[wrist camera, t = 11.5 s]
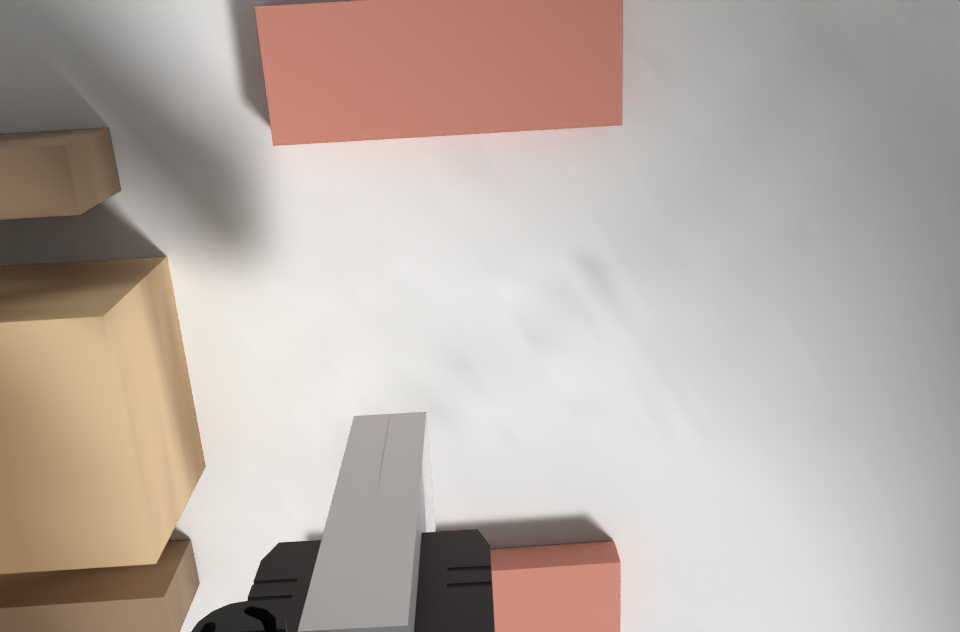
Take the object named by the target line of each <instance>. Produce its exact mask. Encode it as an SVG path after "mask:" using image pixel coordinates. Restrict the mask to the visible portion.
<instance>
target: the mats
mask: <svg viewBox="0 0 960 632" xmlns="http://www.w3.org/2000/svg"><path fill="white" fill-rule="evenodd" d="M255 14H256V21H257V29H258V36H259V43H260V51H261V58H262V66H263V73H264V80H265V88H266V95H267V103H268V110H269V117H270V125H271V132H272V140H273V146H278V145H294V144H311V143H328V142H345V141H362V140H379V139H396V138H412V137H429V136H446V135H463V134H480V133H497V132H513V131H530V130H547V129H564V128H581V127H598V126H614V125H622V45H623V0H358V1H340V2H322V3H305V4H287V5H269V6H255ZM490 551H491V568H492V586H493V603H494V621H495V632H620V559H619V556H618V553H617V549H616V546H615V543H614V541H608V542H593V543H578V544H563V545H549V546H534V547H519V548H504V549H490Z"/></svg>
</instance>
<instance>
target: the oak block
mask: <svg viewBox="0 0 960 632" xmlns="http://www.w3.org/2000/svg"><path fill="white" fill-rule="evenodd" d="M204 469H205V461H204V456H203V450H202V445H201V439H200V434H199V428H198V423H197V418H196V412H195V407H194V401H193V396H192V390H191V385H190V379H189V374H188V368H187V363H186V357H185V352H184V347H183V341H182V336H181V330H180V325H179V319H178V314H177V308H176V303H175V297H174V292H173V286H172V281H171V275H170V270H169V265H168V259H167V256H164V257H147V258H130V259H113V260H96V261H79V262H62V263H45V264H28V265H11V266H0V574H10V573H25V572H40V571H56V570H71V569H86V568H101V567H117V566H132V565H147V564H156V563H157V561H158V559H159V557H160V555H161V553H162V551H163V549H164V548H165V546H166V544H167V542H168V540H169V538H170V536H171V534H172V532H173V530H174V528H175V526H176V524H177V522H178V520H179V518H180V516H181V514H182V512H183V510H184V508H185V506H186V504H187V502H188V500H189V498H190V496H191V494H192V492H193V490H194V488H195V486H196V484H197V482H198V480H199V478H200V476H201V474H202V473H203V471H204Z"/></svg>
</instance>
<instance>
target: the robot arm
mask: <svg viewBox="0 0 960 632" xmlns="http://www.w3.org/2000/svg"><path fill="white" fill-rule="evenodd" d="M191 632H495V621H494V603H493V586H492V568H491V551H490V545H489V544H488V542H487V541H486V540H485V538H484V537H483V536H482V534H481V533H480V532H479V531H478V529H476V530H458V531H440V532H436V521H435V508H434V496H433V484H432V472H431V460H430V448H429V435H428V423H427V412H418V413H401V414H383V415H365V416H354V419H353V423H352V427H351V430H350V434H349V438H348V442H347V446H346V449H345V453H344V457H343V461H342V465H341V468H340V472H339V476H338V480H337V484H336V487H335V491H334V495H333V499H332V503H331V506H330V510H329V514H328V518H327V522H326V525H325V529H324V533H323V537H322V540H317V541H299V542H281V543H278V544H277V545H276V546H275V547H274V548H273V549H272V550H271V551H270V552H269V553H268V554H267V555H266V556H265V557H264V558H263V559H262V560H261V562H260V565H259V568H258V571H257V574H256V576H255V579H254V585H252V587H251V590H250V593H249V596H248V601H244V602H238V603H233V604H229V605H227V606H224V607H222V608H219V609H217V610H215V611H212V612H211V613H210V614H208V615H207V616H206V617H204V618H203V619H202V620H200V621H199V622H198V623H197V624H196V626H195V627H194V629H193V630H192V631H191Z"/></svg>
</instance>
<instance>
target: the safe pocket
mask: <svg viewBox="0 0 960 632" xmlns="http://www.w3.org/2000/svg"><path fill="white" fill-rule="evenodd" d="M119 191H121V187H120V182H119V177H118V172H117V167H116V162H115V157H114V152H113V147H112V142H111V137H110V132H109V128H94V129H77V130H60V131H43V132H26V133H9V134H0V220H4V219H20V218H37V217H53V216H70V215H81V214H83V213H84V212H86V211H88V210H89V209H91V208H93V207H94V206H96V205H98V204H99V203H101V202H103V201H104V200H106V199H108V198H109V197H111V196H112V195H114V194H116V193H117V192H119ZM198 586H199V579H198V573H197V568H196V563H195V558H194V553H193V548H192V543H191V540H179V541H168V542H167V544H166V546H165V548H164V549H163V551H162V553H161V555H160V557H159V559H158V561H157V563H156V564H147V565H132V566H117V567H101V568H86V569H71V570H56V571H40V572H25V573H10V574H0V632H180V630H181V627H182V625H183V622H184V620H185V618H186V615H187V613H188V610H189V608H190V606H191V603H192V601H193V598H194V596H195V593H196V591H197V589H198Z"/></svg>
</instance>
